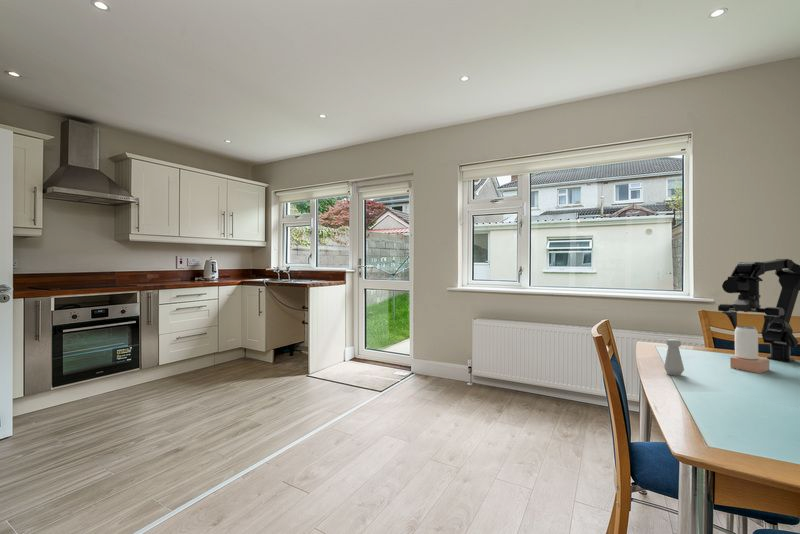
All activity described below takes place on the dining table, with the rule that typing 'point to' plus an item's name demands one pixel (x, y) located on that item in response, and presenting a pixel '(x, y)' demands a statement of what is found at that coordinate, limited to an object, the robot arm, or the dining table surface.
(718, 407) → the dining table surface
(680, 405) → the dining table surface
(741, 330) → the can
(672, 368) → the salt shaker
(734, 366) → the peach block
